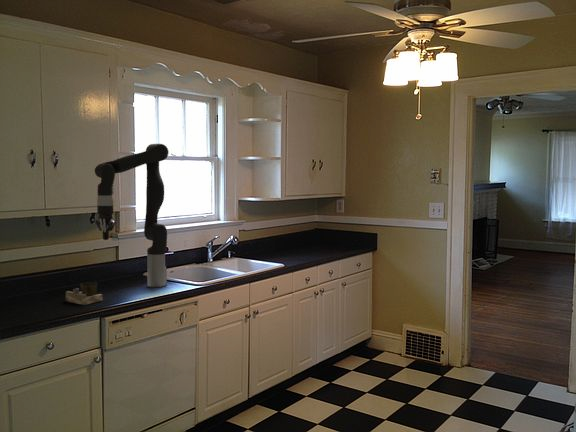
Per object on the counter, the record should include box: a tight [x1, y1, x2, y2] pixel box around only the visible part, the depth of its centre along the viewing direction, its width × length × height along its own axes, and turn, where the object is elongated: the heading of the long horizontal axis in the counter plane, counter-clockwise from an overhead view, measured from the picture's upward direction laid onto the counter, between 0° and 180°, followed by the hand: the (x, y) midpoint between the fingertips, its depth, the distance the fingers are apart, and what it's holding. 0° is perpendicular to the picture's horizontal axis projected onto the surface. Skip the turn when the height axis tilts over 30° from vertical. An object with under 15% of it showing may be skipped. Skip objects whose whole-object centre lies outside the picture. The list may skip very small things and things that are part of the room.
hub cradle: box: [65, 287, 104, 306], centre depth 261 cm, size 11×13×6 cm
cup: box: [80, 281, 98, 297], centre depth 263 cm, size 8×7×8 cm
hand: (105, 239), depth 275 cm, fingers closed
